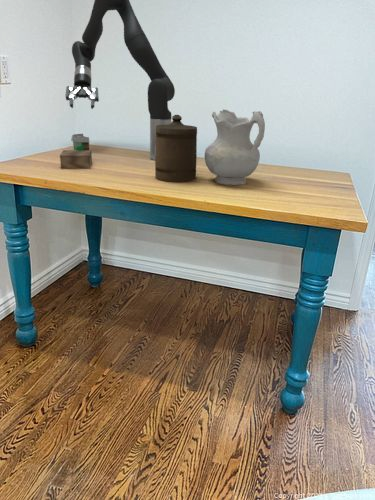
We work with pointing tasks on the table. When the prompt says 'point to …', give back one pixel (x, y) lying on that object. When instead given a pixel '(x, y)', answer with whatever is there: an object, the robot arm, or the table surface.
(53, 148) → the table surface
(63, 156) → the walnut block
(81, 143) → the food container
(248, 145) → the ceramic pitcher
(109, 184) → the table surface
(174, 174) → the wooden container
